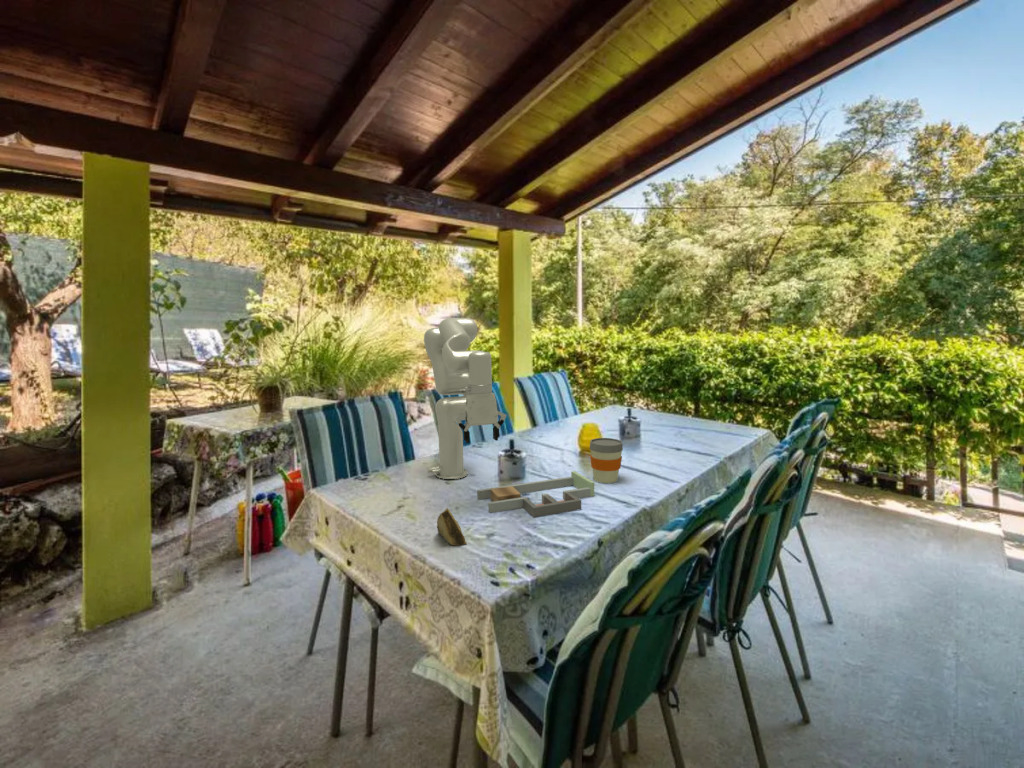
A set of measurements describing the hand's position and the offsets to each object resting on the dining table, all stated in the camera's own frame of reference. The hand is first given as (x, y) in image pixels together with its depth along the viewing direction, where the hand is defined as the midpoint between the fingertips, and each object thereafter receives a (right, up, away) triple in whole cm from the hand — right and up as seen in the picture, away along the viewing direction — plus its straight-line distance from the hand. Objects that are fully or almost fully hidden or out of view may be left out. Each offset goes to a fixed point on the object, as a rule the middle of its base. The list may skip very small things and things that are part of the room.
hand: (481, 441), depth 156 cm
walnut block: (+8, -22, +5) cm, 23 cm away
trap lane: (+20, -21, +5) cm, 29 cm away
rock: (-7, -25, -22) cm, 34 cm away
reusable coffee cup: (+46, -18, +27) cm, 57 cm away
